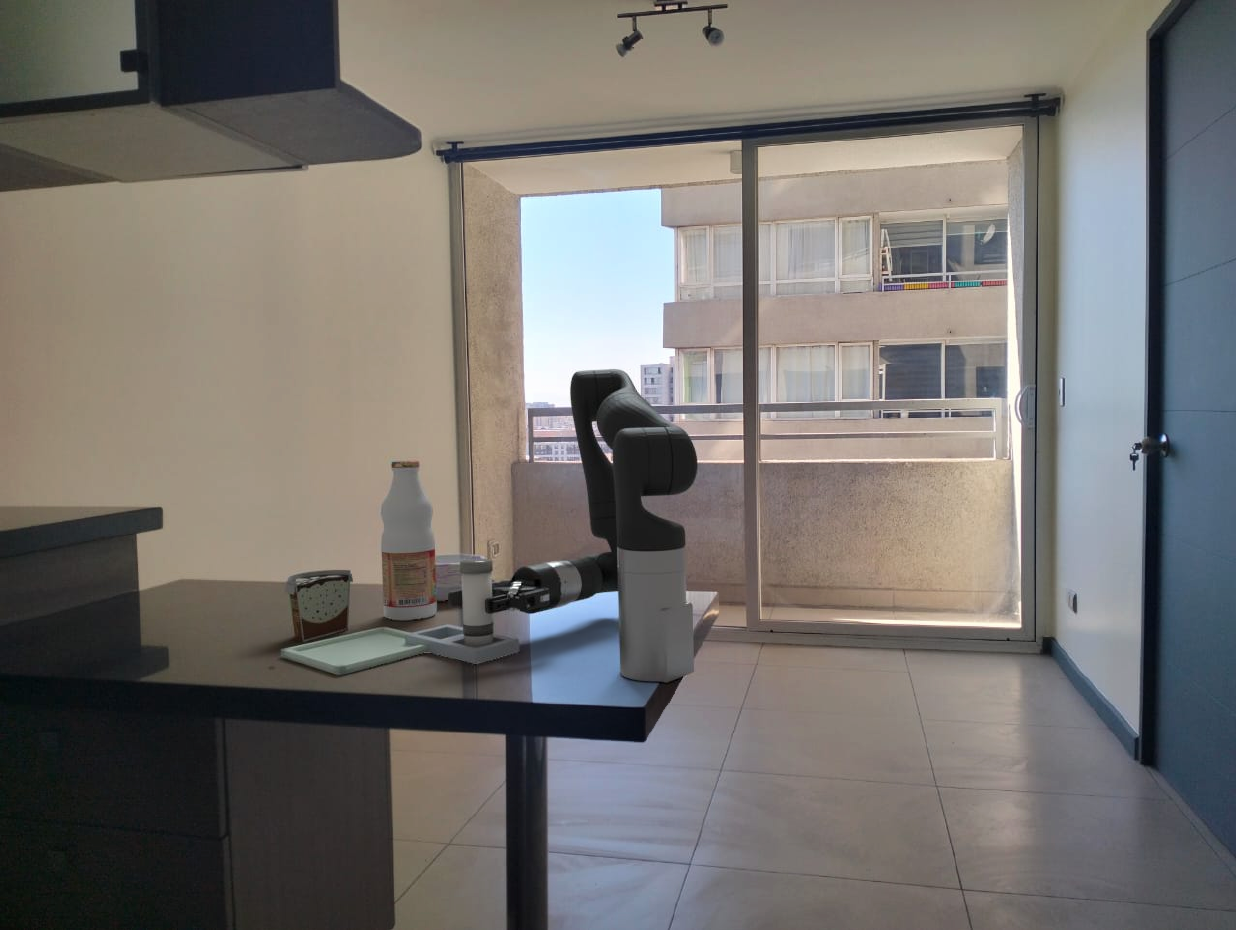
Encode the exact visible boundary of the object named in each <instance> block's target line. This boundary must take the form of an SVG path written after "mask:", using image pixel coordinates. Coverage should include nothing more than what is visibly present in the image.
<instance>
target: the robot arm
mask: <svg viewBox="0 0 1236 930" xmlns="http://www.w3.org/2000/svg"><path fill="white" fill-rule="evenodd" d="M569 395H570V406H571V407H570V408H571V414H572V419H573V424H574V430H575V436H576V440H577V444H578V449H579V450H578V451H579V456H580V459H581V464H582V468H583V473H584V478H585V485H586V491H587V501H588V514H589V524H590V526H589V527H590V531H591V534H592V535H593V536H594V537H595V538H597V539H603V540H605V541H607V544H608V546H609V549H610V551H606V552H597V553H593V554H592V553H591V554H589V555H585V556H583V557H576V558H570V559H565V560H551V561H545V562H540V563H535V564H529V565H525V566H521V567H519V568H518V569H517V570H516V571H515V572H514V574H513V575H512V577H511V578H509V579H508V578H506V579H503V578H502V579H501V580H499V581H495V579H492V597H490V598H487V599H486V600H485V612H486V613H488V614H492V613H493V614H495V613H496V614H497V613H500V612H505V611H508V612H509V611H510V612H514V611H519V612H521V613H525V614H529V615H531V614H532V615H533V614H537V613H540V612H544V611H545V612H546V611H549V610H552V609H558V608H561V607H564V606H567V605H569V604H572V603H574V602H575V603H576V602H579V601H583V600H587V599H589V598H592V597H594V596H595V595H597V594H603V593H612V592H613V593H614V592H617V595H618V603H617V604H618V638H619V639H618V645H619V671H620V672H619V673H620V675H621V676H623V678H624V677H625V678H626V679H630V680H635V681H641V682H662V683H669V682H672V681H675V680H677V679H680V678H683V677H684V676H688V675H690V674H692V673H695V660H694V659H695V657H694V656H695V655H694V652H695V651H694V609H693V608H694V606H693V603H692V602H690V601H687V569H686V567H687V565H686V564H687V562H686V559H687V558H686V557H687V556H686V554H687V553H686V530H685V527H684V526H683V525H682V524H680V523H678V522H676V521H672V520H669V519H667V518H666V519H665V518H663V517H660V516H657V515H655V514H653V512H650V511H649V510H647V509H646V508H645V507H644V505H643V502H642V497H655V496H656V497H658V496H659V497H660V496H662V497H663V496H676V495H680V494H684V493H685V492H686V491H688V490H689V489H690V488H691V487H692V486H693V484H694V483H695V480H696V477H697V474H698V456H697V451H696V448H695V445H694V443H693V441H692V439H691V437H690V436H689V434H688V433H687V432H686V431H685V430H684V428H682V427H680V426H678V425H677V424H674V423H673V422H671V421H669V420H668V419H666V418H665V417H663V416H662V415H661V414H660V413H659V412H658V411H657V410H656V409H655V408H654V407H653V405H652V404H650V402H648V401H647V399H646V398H644V397H643V396H642V395H641V394H640V393H639V391H638V390H637V388H636V387H635V385H634V382H633V381H632V378H631V377H630V376H629V374H628V373H627V372H626V371H624V370H622V369H619V368H607V369H589V370H588V369H587V370H578V371H576V372H574V373H573V374H572V377H571V380H570V387H569ZM593 422H596V427H597V430H598V433H599V435H600V437H601V438H602V439H603V441H604V443H605V444H606V445H607V447H608V448H609V449H611V450H612V462H611V461H610V459H609V458H608V457H607V455H606V454H605V452H604V450H603V449H602V448H601V446H600V443H599V442H598V440H597V438H596V435H595V432H594V427H593ZM447 603H448V606H449V607H458V606H463V604H462V589H461V590H456V591H451V592H449V593H448V601H447Z"/></svg>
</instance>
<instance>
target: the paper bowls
mask: <svg viewBox="0 0 1236 930" xmlns="http://www.w3.org/2000/svg"><path fill="white" fill-rule="evenodd" d="M467 559H487V557H485V556H483V555H478V554H471V553H470V554H469V553H440V554H435V566H436V596H437V602H444V601H443V600H448V593H449V592H451V591H456V590H461V589H462V573H460V561H462V560H467Z"/></svg>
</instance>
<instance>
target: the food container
mask: <svg viewBox="0 0 1236 930" xmlns="http://www.w3.org/2000/svg"><path fill="white" fill-rule="evenodd" d="M353 582H354V578H353V573H351V569H350V570H349V569H325V570H323V569H322V570H313V571H307V572H300V573H296V574H292V575H290V576H288V577H287V581H285V586H284V593H286V594H288V595H289V602H290V609H291V618H292V623H293V624H292V625H293V631H294V632H293V633H294V638H295V639H294V640H296V641H297V642H301V643H304V642H308V641H311V640H315V639H319V638H322V637H327V636H329V635H334V634H337V632H338V633H341V632H344V631H343V630H345V631H347V630H346V629H348V630H349V621H350V620H349V617H350V615H349V613H350V594H351V583H353ZM340 631H341V632H340Z"/></svg>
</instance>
